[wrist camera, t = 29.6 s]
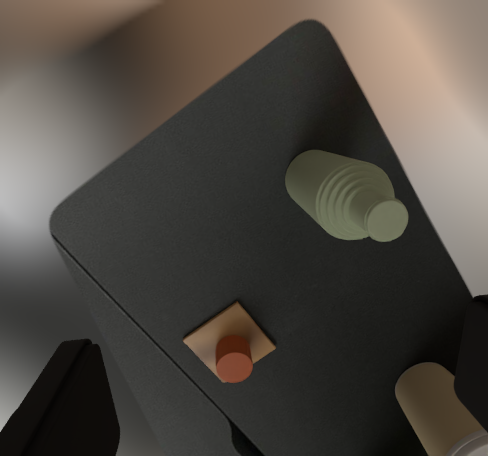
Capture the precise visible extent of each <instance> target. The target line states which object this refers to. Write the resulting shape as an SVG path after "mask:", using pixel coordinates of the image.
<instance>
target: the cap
mask: <svg viewBox="0 0 488 456" xmlns="http://www.w3.org/2000/svg"><path fill="white" fill-rule="evenodd" d="M215 353H216V371H217V374H218V376H219V377H220V378H221V379H223V380H224V381H226V382H231V383H236V382H240V381H243V380H245V379H246V378H247V377H248V376H249V375H250V374H251V372H252V368H253V365H252V363H253V362H252V356H251V350H250V346H249V344H248V342H247V341H246V339H244V338H243V337H241V336H237V335H230V336H227V337H225V338H223V339H222V340H220V342H219V343H218V344H217V347H216V351H215Z"/></svg>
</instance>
